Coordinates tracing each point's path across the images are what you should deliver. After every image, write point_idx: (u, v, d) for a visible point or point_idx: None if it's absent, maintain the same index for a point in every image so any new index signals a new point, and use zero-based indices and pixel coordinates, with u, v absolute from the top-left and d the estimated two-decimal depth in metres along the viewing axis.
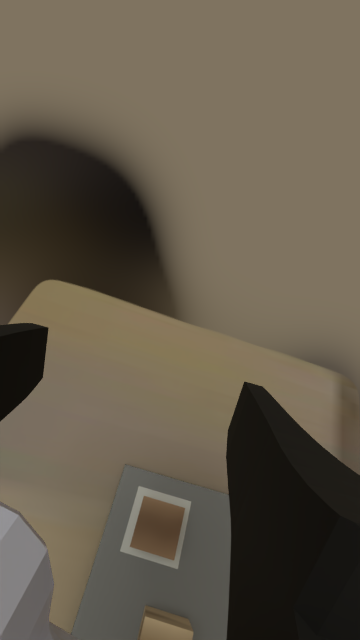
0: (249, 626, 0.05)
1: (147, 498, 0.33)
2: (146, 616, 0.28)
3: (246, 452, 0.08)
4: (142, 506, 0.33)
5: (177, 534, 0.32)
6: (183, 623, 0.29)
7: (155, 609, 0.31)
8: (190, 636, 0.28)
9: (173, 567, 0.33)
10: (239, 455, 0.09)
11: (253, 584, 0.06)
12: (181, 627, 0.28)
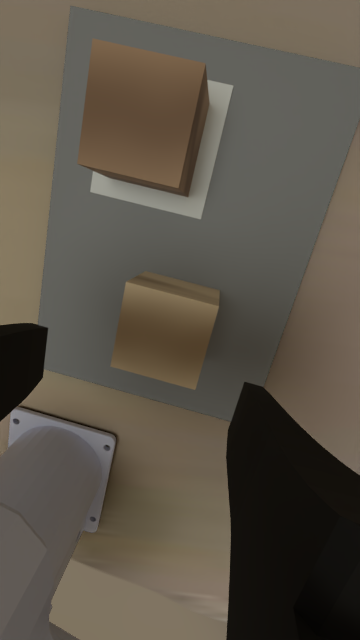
0: (249, 626, 0.05)
1: (102, 45, 0.12)
2: (129, 282, 0.15)
3: (246, 452, 0.08)
4: (93, 68, 0.12)
5: (185, 132, 0.13)
6: (205, 294, 0.16)
7: (161, 276, 0.18)
8: (212, 312, 0.15)
9: (192, 216, 0.17)
10: (239, 455, 0.09)
11: (253, 584, 0.06)
12: (196, 299, 0.15)
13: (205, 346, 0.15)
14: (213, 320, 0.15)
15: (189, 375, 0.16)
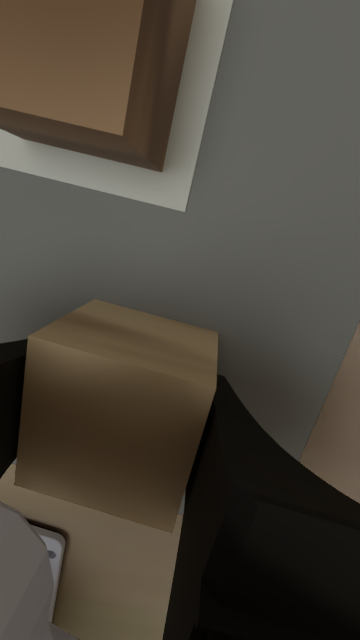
0: (178, 604, 0.06)
1: None
2: (37, 335, 0.07)
3: None
4: None
5: None
6: (190, 350, 0.09)
7: (118, 309, 0.11)
8: (203, 399, 0.07)
9: (170, 207, 0.10)
10: None
11: (186, 563, 0.06)
12: (171, 371, 0.07)
13: (189, 460, 0.08)
14: (205, 414, 0.07)
15: (160, 508, 0.08)
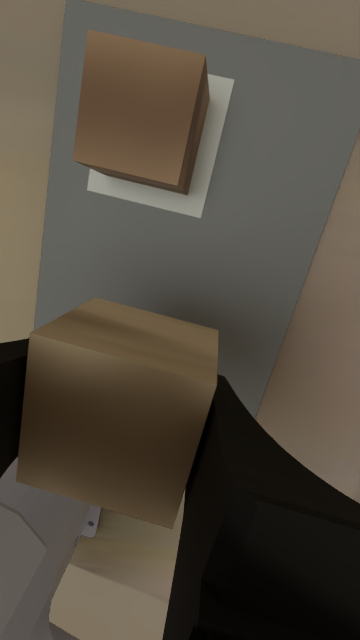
0: (178, 604, 0.06)
1: (98, 36, 0.12)
2: (38, 332, 0.07)
3: None
4: (88, 60, 0.12)
5: (184, 127, 0.12)
6: (191, 348, 0.09)
7: (119, 307, 0.11)
8: (204, 395, 0.07)
9: (192, 215, 0.17)
10: None
11: (186, 563, 0.06)
12: (171, 367, 0.07)
13: (190, 456, 0.08)
14: (205, 410, 0.07)
15: (160, 504, 0.08)
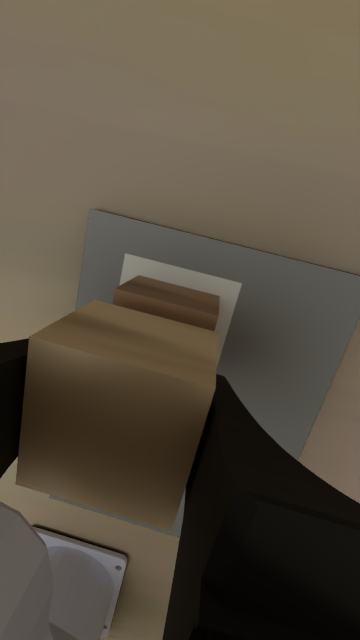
0: (178, 604, 0.06)
1: (124, 294, 0.13)
2: (38, 336, 0.08)
3: (200, 439, 0.09)
4: None
5: None
6: (190, 351, 0.09)
7: (119, 310, 0.11)
8: (203, 398, 0.07)
9: None
10: None
11: (186, 563, 0.06)
12: (170, 371, 0.07)
13: (189, 459, 0.08)
14: (204, 413, 0.07)
15: (160, 507, 0.08)
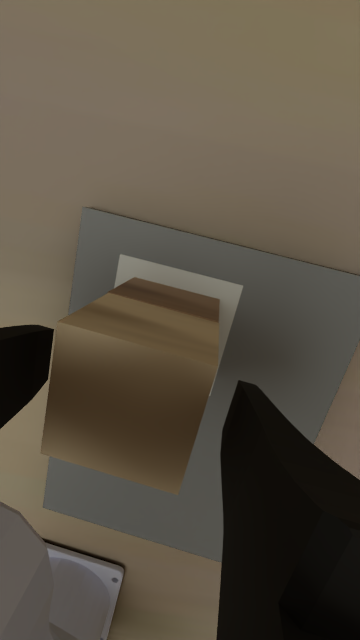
0: (238, 622, 0.06)
1: None
2: (64, 321, 0.09)
3: (238, 450, 0.08)
4: None
5: None
6: (195, 337, 0.10)
7: (130, 302, 0.12)
8: (207, 376, 0.08)
9: None
10: (232, 453, 0.09)
11: (242, 581, 0.06)
12: (179, 352, 0.09)
13: (194, 429, 0.09)
14: (208, 389, 0.09)
15: (168, 473, 0.10)
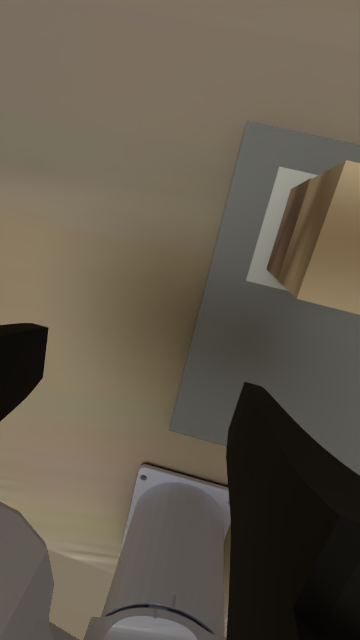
0: (249, 626, 0.05)
1: None
2: (348, 162, 0.10)
3: (246, 452, 0.08)
4: None
5: None
6: None
7: None
8: None
9: None
10: (239, 455, 0.09)
11: (253, 584, 0.06)
12: None
13: None
14: None
15: None
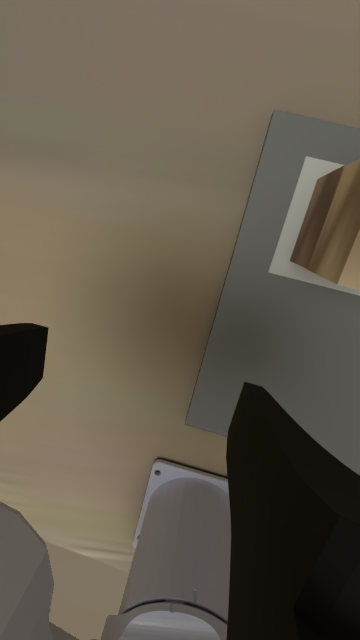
0: (249, 626, 0.05)
1: None
2: None
3: (246, 452, 0.08)
4: None
5: None
6: None
7: None
8: None
9: None
10: (239, 455, 0.09)
11: (253, 584, 0.06)
12: None
13: None
14: None
15: None
